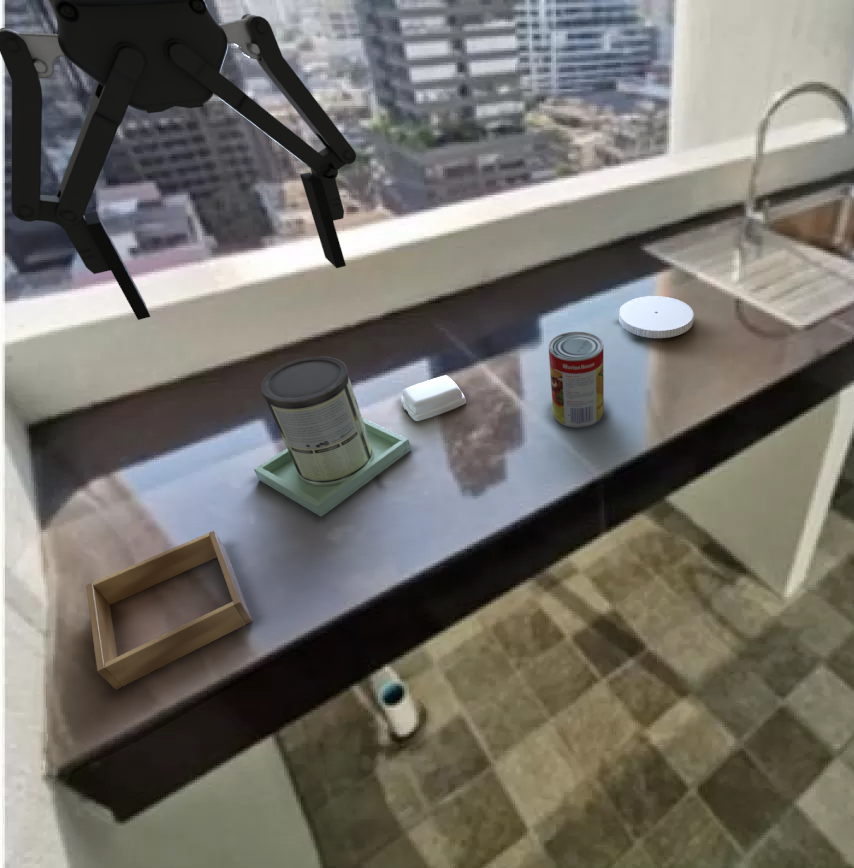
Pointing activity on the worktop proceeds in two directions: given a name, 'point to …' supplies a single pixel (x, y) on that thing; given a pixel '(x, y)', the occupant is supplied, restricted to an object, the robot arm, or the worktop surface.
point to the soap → (432, 398)
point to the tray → (325, 498)
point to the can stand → (175, 641)
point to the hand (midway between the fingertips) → (245, 285)
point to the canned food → (577, 378)
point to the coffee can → (318, 419)
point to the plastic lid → (656, 317)
